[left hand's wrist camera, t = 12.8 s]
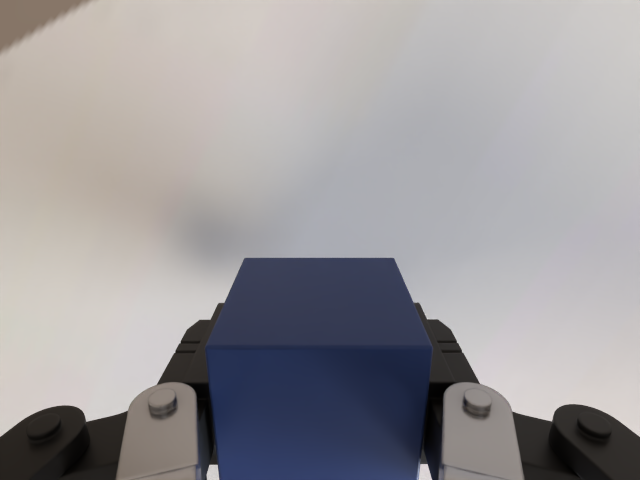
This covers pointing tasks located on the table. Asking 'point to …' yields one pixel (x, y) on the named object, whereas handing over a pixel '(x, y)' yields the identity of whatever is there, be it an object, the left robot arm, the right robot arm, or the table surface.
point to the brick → (319, 372)
